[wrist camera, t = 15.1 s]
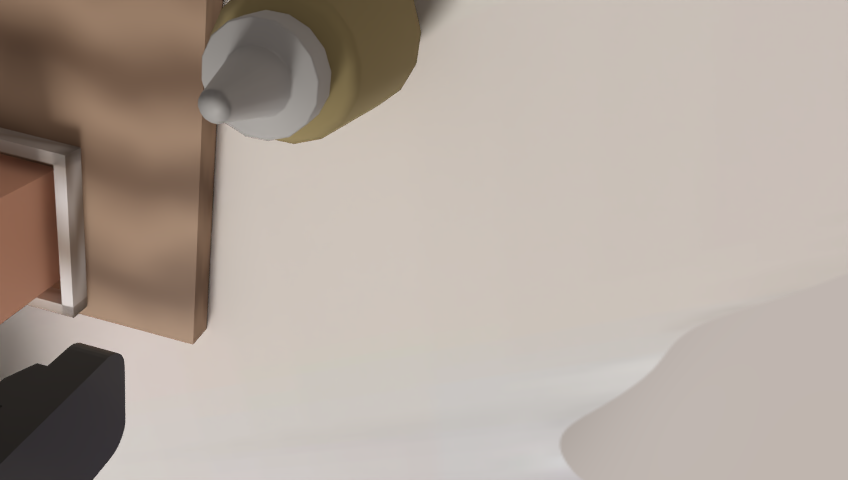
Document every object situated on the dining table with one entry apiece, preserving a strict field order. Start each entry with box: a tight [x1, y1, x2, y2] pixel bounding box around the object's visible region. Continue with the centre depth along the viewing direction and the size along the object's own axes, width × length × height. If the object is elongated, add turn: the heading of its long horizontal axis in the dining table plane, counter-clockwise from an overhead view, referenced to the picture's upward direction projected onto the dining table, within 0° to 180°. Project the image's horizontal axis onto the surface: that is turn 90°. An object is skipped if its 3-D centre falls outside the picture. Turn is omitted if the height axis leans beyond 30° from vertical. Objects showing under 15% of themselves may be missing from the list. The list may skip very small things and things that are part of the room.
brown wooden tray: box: [0, 0, 223, 344], centre depth 44 cm, size 24×16×4 cm
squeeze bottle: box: [198, 0, 421, 144], centre depth 31 cm, size 8×8×18 cm
